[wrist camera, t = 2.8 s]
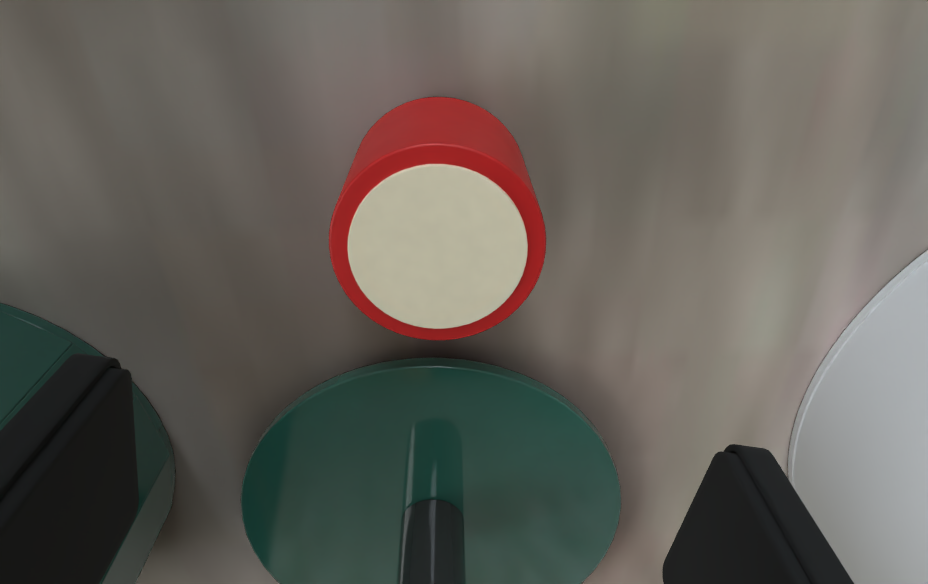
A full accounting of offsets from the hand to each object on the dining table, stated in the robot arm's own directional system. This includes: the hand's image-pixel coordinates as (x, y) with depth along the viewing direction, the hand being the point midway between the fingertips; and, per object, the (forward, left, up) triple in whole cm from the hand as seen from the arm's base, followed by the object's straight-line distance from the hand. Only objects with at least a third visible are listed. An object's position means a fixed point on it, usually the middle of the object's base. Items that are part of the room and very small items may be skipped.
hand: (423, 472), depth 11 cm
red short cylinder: (0, 0, -12) cm, 12 cm away
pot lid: (+14, +2, -12) cm, 18 cm away
